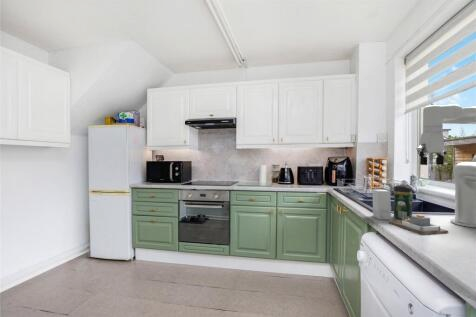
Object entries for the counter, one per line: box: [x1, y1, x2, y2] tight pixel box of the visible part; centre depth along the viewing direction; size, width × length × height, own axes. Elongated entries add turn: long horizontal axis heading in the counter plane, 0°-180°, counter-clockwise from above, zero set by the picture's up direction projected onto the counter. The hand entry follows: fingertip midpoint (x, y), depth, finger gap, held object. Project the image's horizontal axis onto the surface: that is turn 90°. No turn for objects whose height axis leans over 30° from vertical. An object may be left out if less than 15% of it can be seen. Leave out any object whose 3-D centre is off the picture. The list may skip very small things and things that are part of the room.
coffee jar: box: [393, 184, 413, 220], centre depth 128 cm, size 10×8×19 cm
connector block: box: [411, 214, 431, 227], centre depth 107 cm, size 5×5×6 cm
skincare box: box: [372, 189, 392, 221], centre depth 127 cm, size 8×7×16 cm
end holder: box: [402, 221, 441, 232], centre depth 107 cm, size 10×10×2 cm
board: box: [387, 214, 449, 236], centre depth 110 cm, size 14×18×4 cm
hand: (431, 164), depth 114 cm, fingers open, 9 cm apart
